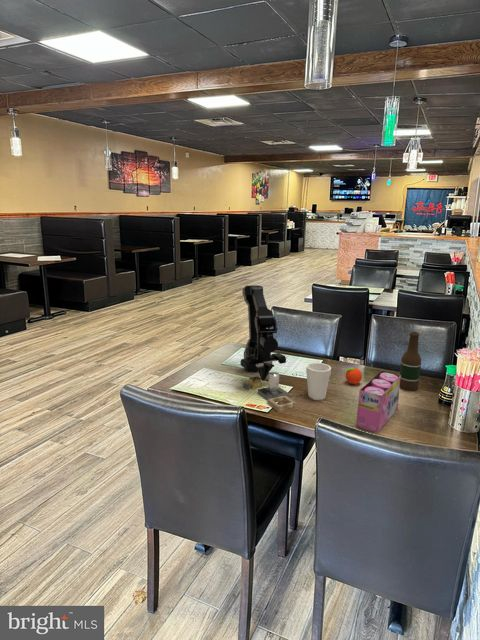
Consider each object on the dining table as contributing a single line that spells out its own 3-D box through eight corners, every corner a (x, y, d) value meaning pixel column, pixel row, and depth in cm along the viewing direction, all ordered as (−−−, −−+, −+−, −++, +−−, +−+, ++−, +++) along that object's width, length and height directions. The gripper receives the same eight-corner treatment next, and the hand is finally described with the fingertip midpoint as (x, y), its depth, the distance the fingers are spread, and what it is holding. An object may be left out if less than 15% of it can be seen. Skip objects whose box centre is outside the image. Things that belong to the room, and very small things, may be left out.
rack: (284, 401, 165) (285, 395, 165) (295, 409, 159) (295, 402, 159) (267, 405, 161) (267, 399, 161) (277, 413, 155) (277, 406, 155)
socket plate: (267, 382, 183) (267, 376, 182) (292, 399, 167) (292, 392, 167) (238, 388, 176) (238, 382, 175) (261, 406, 161) (262, 398, 160)
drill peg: (274, 393, 171) (275, 371, 169) (280, 396, 167) (281, 374, 165) (266, 394, 169) (266, 373, 167) (271, 398, 166) (272, 376, 164)
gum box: (378, 402, 167) (381, 369, 163) (399, 407, 162) (403, 374, 159) (355, 426, 148) (358, 389, 144) (378, 433, 143) (382, 395, 140)
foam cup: (313, 405, 163) (316, 373, 159) (299, 395, 171) (301, 364, 167) (333, 400, 167) (336, 369, 164) (319, 391, 175) (321, 361, 172)
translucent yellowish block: (257, 384, 178) (257, 376, 177) (261, 386, 176) (261, 378, 175) (248, 385, 176) (249, 377, 176) (252, 388, 174) (252, 380, 173)
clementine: (346, 387, 180) (348, 371, 178) (339, 381, 186) (341, 365, 185) (364, 386, 181) (366, 370, 180) (356, 379, 188) (358, 364, 186)
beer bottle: (418, 386, 182) (425, 331, 176) (417, 393, 175) (424, 336, 169) (399, 382, 185) (405, 329, 179) (397, 389, 179) (403, 333, 173)
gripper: (272, 336, 185) (271, 370, 189) (234, 341, 176) (233, 377, 180) (287, 343, 175) (285, 379, 179) (247, 349, 167) (246, 387, 170)
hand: (262, 380), depth 177 cm, fingers closed
